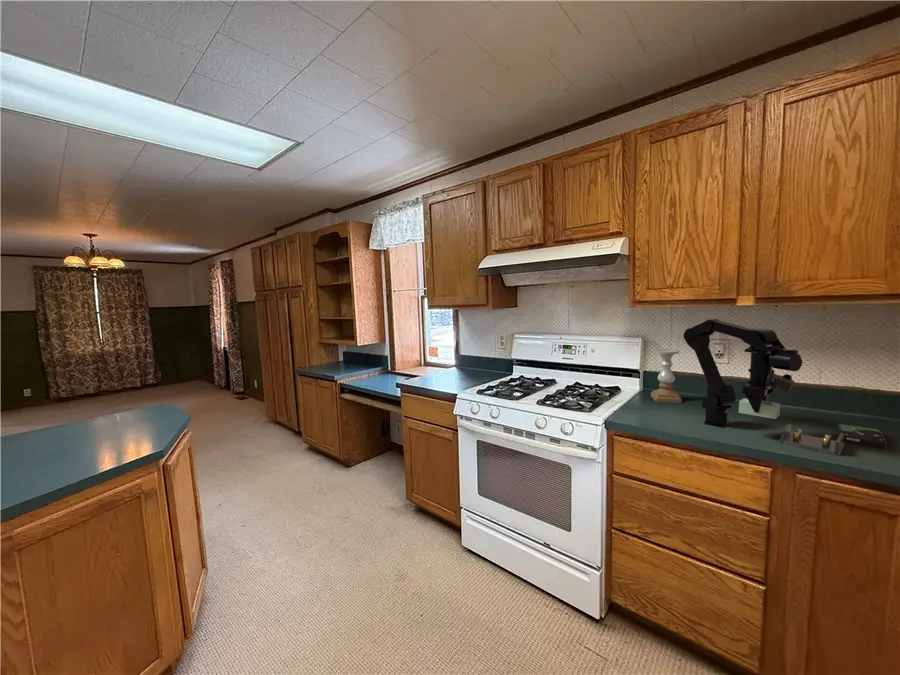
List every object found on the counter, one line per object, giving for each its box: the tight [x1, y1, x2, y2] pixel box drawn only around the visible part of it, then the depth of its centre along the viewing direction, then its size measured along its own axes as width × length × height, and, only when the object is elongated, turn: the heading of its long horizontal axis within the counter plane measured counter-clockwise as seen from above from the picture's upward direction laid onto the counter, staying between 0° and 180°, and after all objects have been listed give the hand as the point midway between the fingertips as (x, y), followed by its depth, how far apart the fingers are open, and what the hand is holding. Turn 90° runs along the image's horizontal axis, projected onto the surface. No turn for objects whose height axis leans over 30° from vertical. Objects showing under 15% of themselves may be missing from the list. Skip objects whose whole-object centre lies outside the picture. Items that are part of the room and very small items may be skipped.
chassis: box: [778, 423, 845, 456], centre depth 122 cm, size 14×11×4 cm
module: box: [738, 397, 781, 420], centre depth 128 cm, size 10×6×5 cm, turn 40°
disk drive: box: [837, 423, 888, 450], centre depth 125 cm, size 10×3×15 cm
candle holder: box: [650, 348, 683, 404], centre depth 177 cm, size 11×11×24 cm
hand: (759, 410), depth 128 cm, fingers closed on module, 6 cm apart
